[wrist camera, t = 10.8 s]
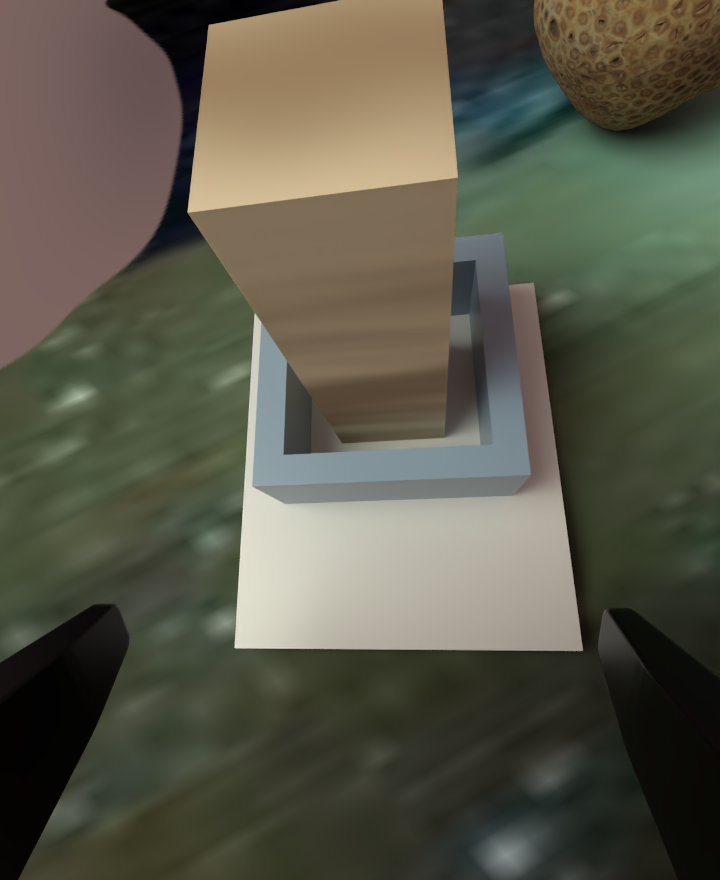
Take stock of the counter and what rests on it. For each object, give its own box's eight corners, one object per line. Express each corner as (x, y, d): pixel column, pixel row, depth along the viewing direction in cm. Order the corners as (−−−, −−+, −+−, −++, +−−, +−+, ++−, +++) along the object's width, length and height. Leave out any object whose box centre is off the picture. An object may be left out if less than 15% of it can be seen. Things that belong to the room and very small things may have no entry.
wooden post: (444, 437, 19) (458, 176, 7) (342, 443, 19) (188, 212, 7) (438, 344, 20) (440, -19, 8) (342, 352, 20) (208, 25, 8)
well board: (574, 647, 17) (621, 668, 12) (245, 644, 18) (187, 663, 14) (529, 296, 21) (553, 221, 16) (262, 321, 22) (221, 259, 18)
